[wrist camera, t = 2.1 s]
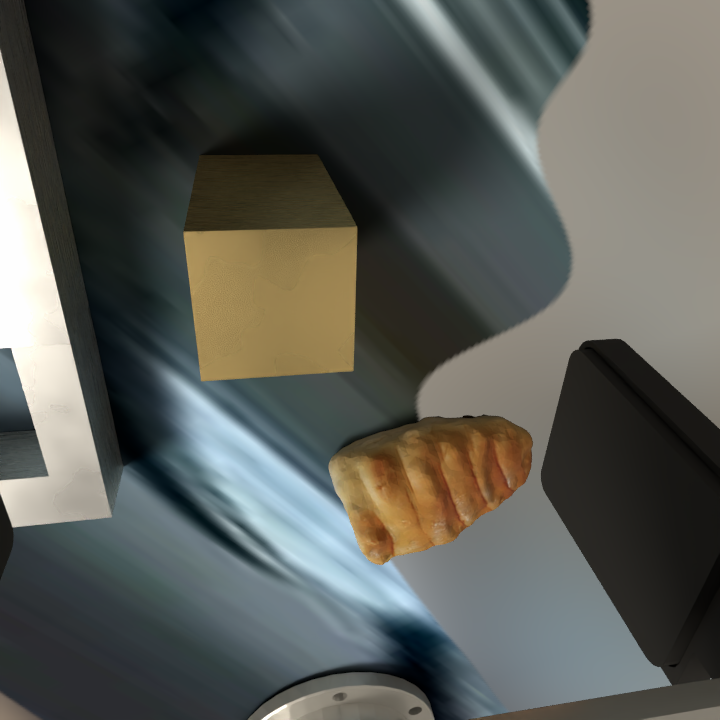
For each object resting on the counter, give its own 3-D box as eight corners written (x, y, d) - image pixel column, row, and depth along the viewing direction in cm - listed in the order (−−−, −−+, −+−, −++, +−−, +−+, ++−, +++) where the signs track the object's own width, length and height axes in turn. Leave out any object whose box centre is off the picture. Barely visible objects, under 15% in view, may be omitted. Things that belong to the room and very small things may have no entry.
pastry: (506, 372, 28) (542, 422, 25) (531, 472, 31) (566, 527, 28) (314, 447, 28) (325, 506, 25) (362, 538, 32) (376, 600, 28)
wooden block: (318, 263, 23) (353, 371, 17) (210, 266, 23) (201, 381, 16) (317, 154, 21) (357, 226, 15) (199, 155, 21) (183, 231, 14)
